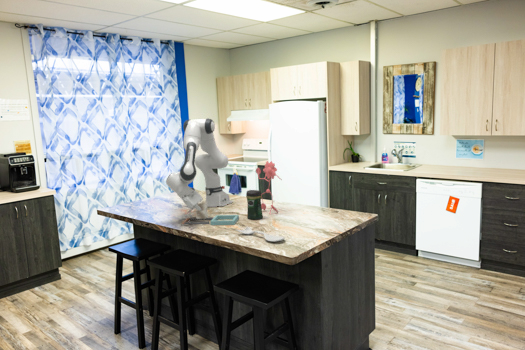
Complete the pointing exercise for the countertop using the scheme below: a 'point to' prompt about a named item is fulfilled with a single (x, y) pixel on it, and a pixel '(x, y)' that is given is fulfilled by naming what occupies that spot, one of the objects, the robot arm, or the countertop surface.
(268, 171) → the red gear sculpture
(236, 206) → the countertop surface
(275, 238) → the spoon
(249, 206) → the coffee jar
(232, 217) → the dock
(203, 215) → the cream block
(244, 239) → the countertop surface
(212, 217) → the channel
